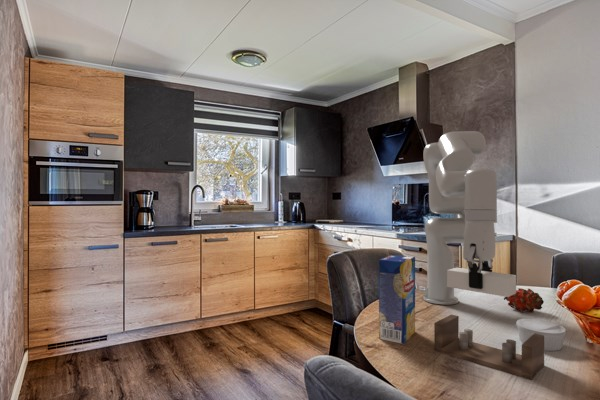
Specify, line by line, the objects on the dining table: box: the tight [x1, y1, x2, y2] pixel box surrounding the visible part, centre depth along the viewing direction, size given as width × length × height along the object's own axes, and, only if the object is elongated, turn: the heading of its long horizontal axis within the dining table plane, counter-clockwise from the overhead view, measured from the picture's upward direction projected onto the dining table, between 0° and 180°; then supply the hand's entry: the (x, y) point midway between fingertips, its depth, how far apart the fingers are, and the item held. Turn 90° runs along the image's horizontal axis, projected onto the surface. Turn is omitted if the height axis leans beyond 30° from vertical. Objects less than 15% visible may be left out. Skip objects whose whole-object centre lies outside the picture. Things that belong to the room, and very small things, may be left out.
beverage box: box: [378, 254, 416, 345], centre depth 106 cm, size 7×11×22 cm, turn 147°
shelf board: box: [447, 267, 517, 298], centre depth 97 cm, size 15×6×4 cm, turn 44°
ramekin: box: [515, 318, 567, 352], centre depth 100 cm, size 11×11×5 cm
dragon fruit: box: [503, 288, 545, 313], centre depth 130 cm, size 8×8×12 cm
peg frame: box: [433, 314, 545, 381], centre depth 92 cm, size 22×10×7 cm, turn 44°
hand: (480, 285), depth 97 cm, fingers closed on shelf board, 6 cm apart
